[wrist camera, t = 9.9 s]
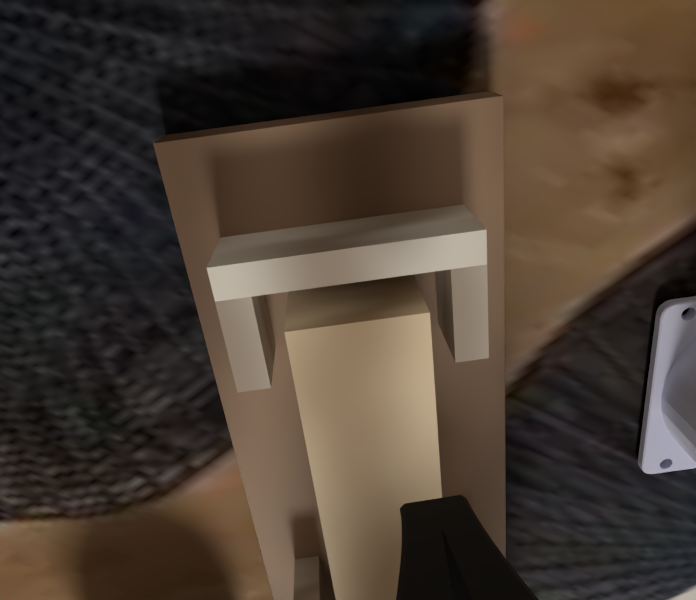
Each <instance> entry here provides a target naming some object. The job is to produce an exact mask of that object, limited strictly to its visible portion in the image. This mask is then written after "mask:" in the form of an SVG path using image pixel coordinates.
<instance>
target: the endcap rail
mask: <svg viewBox="0 0 696 600" xmlns="http://www.w3.org/2000/svg"><path fill="white" fill-rule="evenodd" d="M153 145H154V148H155V152H156V156H157V160H158V163H159V167H160V171H161V175H162V179H163V182H164V186H165V190H166V194H167V197H168V201H169V205H170V209H171V213H172V216H173V220H174V224H175V228H176V231H177V235H178V239H179V243H180V247H181V250H182V254H183V258H184V262H185V265H186V269H187V273H188V277H189V281H190V284H191V288H192V292H193V296H194V299H195V303H196V307H197V311H198V315H199V318H200V322H201V326H202V330H203V333H204V337H205V341H206V345H207V349H208V352H209V356H210V360H211V364H212V367H213V371H214V375H215V379H216V383H217V386H218V390H219V394H220V398H221V401H222V405H223V409H224V413H225V417H226V420H227V424H228V428H229V432H230V435H231V439H232V443H233V447H234V451H235V454H236V458H237V462H238V466H239V469H240V473H241V477H242V481H243V485H244V488H245V492H246V496H247V500H248V503H249V507H250V511H251V515H252V519H253V522H254V526H255V530H256V534H257V537H258V541H259V545H260V549H261V553H262V556H263V560H264V564H265V568H266V571H267V575H268V579H269V583H270V587H271V590H272V594H273V598H274V600H336V598H335V593H334V588H333V583H332V578H331V572H330V567H329V562H328V557H327V552H326V546H325V541H324V536H323V531H322V525H321V520H320V515H319V510H318V505H317V499H316V494H315V489H314V484H313V479H312V473H311V468H310V463H309V458H308V453H307V447H306V442H305V437H304V432H303V427H302V421H301V416H300V411H299V406H298V401H297V395H296V390H295V385H294V380H293V375H292V369H291V364H290V359H289V354H288V348H287V343H286V338H285V333H284V331H285V320H286V308H287V297H288V292H289V291H297V290H304V289H311V288H318V287H326V286H333V285H340V284H348V283H355V282H362V281H369V280H377V279H384V278H391V277H399V276H406V275H413V274H414V277H415V279H416V281H417V284H418V286H419V288H420V291H421V293H422V295H423V298H424V300H425V302H426V304H427V307H428V309H429V311H430V320H431V336H432V351H433V366H434V381H435V397H436V412H437V427H438V442H439V458H440V473H441V488H442V498H443V497H450V496H456V495H462V496H464V497H465V498H467V500H468V502H469V504H470V506H471V508H472V509H473V511H474V513H475V514H476V516H477V518H478V519H479V521H480V522H481V524H482V526H483V527H484V529H485V530H486V532H487V533H488V535H489V536H490V537H491V539H492V540H493V542H494V543H495V545H496V546H497V547H498V549H499V550H500V552H501V553H502V554H503V556H504V557H505V558H506V498H505V303H504V109H503V95H499V94H496V93H493V92H490V91H486V92H478V93H471V94H464V95H456V96H449V97H442V98H434V99H427V100H420V101H412V102H405V103H398V104H390V105H383V106H376V107H368V108H361V109H354V110H346V111H339V112H332V113H324V114H317V115H310V116H302V117H295V118H288V119H280V120H273V121H266V122H258V123H251V124H244V125H236V126H229V127H222V128H215V129H207V130H200V131H193V132H185V133H178V134H171V135H165V136H164V137H162V138H161V139H159V140H158V141H156V142H155V143H153Z"/></svg>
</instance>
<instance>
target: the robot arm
mask: <svg viewBox="0 0 696 600" xmlns="http://www.w3.org/2000/svg"><path fill="white" fill-rule="evenodd" d="M687 308H689V310H688V312H687V313H686V314H685V315H682V312H683V311H684V310H685V309H687ZM681 315H682V316H681ZM663 460H664V461H663ZM638 465H639V466H640V468H641V469H642V470H643V472H644V473H647V474H655V473H663V472H670V471H677V470H684V469H692V468H696V296H693V297H686V298H678V299H671V300H668V301H665V302H664V303H662V304H661V305H660V306H659V308H658V309H657V312H656V317H655V326H654V334H653V342H652V350H651V358H650V366H649V374H648V382H647V391H646V399H645V407H644V415H643V423H642V431H641V439H640V447H639V456H638ZM400 514H401V524H402V546H401V562H400V571H399V579H398V588H397V596H396V600H538V598H537V597H536V596H535V595H534V594H533V592H532V591H531V590H530V589H529V588H528V586H527V585H526V584H525V583H524V581H523V580H522V579H521V578H520V576H519V575H518V574H517V572H516V571H515V570H514V569H513V567H512V566H511V565H510V563H509V562H508V561H507V560H506V558H505V557H504V556H503V554H502V553H501V552H500V550H499V549H498V547H497V546H496V545H495V543H494V542H493V540H492V539H491V537H490V536H489V535H488V533H487V532H486V530H485V529H484V527H483V526H482V524H481V522H480V521H479V519H478V518H477V516H476V514H475V513H474V511H473V509H472V508H471V506H470V504H469V502H468V500H467V498H465V497H464V496H462V495H456V496H450V497H443V498H437V499H431V500H424V501H418V502H412V503H405V504H404V505H403V506H402V507H401V508H400Z"/></svg>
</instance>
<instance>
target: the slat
mask: <svg viewBox="0 0 696 600" xmlns="http://www.w3.org/2000/svg"><path fill="white" fill-rule="evenodd" d="M284 333H285V338H286V343H287V348H288V354H289V359H290V364H291V369H292V375H293V380H294V385H295V390H296V395H297V401H298V406H299V411H300V416H301V421H302V427H303V432H304V437H305V442H306V447H307V453H308V458H309V463H310V468H311V473H312V479H313V484H314V489H315V494H316V499H317V505H318V510H319V515H320V520H321V525H322V531H323V536H324V541H325V546H326V552H327V557H328V562H329V567H330V572H331V578H332V583H333V588H334V593H335V598H336V600H396V596H397V588H398V579H399V571H400V562H401V546H402V524H401V514H400V508H401V507H402V506H403V505H404V504H405V503H412V502H418V501H424V500H431V499H437V498H442V488H441V473H440V458H439V442H438V427H437V412H436V397H435V381H434V366H433V351H432V336H431V320H430V311H429V309H428V307H427V304H426V302H425V300H424V298H423V295H422V293H421V291H420V288H419V286H418V284H417V281H416V279H415V277H414V274H413V275H406V276H399V277H391V278H384V279H377V280H369V281H362V282H355V283H348V284H340V285H333V286H326V287H318V288H311V289H304V290H297V291H289V292H288V297H287V308H286V320H285V331H284Z"/></svg>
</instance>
